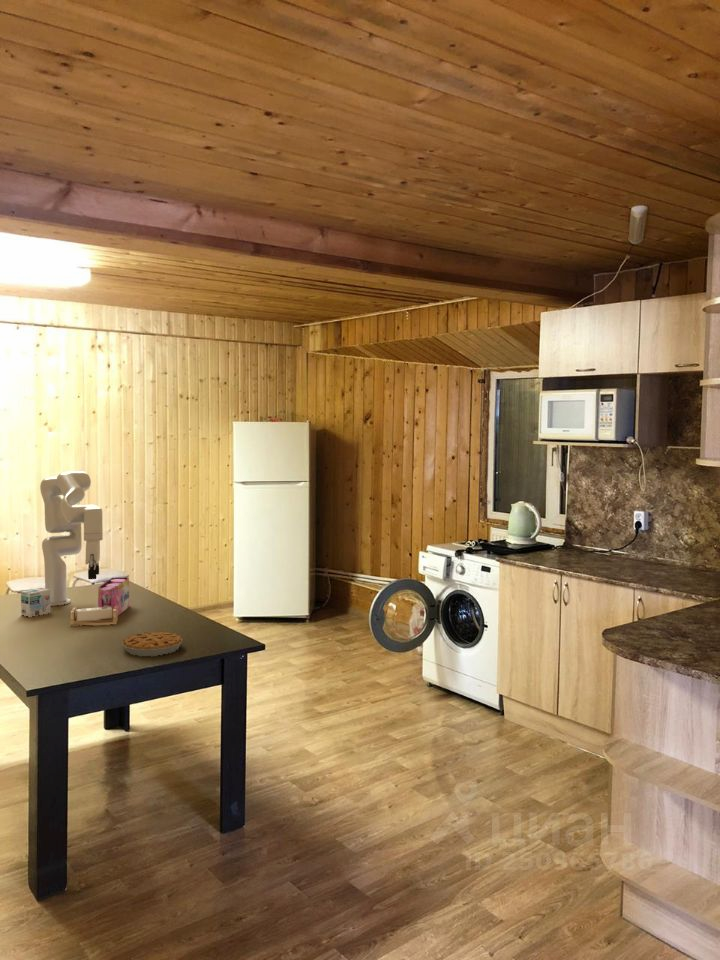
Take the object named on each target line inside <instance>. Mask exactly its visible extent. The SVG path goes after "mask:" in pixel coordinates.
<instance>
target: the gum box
mask: <svg viewBox="0 0 720 960" xmlns="http://www.w3.org/2000/svg"><path fill="white" fill-rule="evenodd" d="M97 589H98V590H97V591H98V596H97V608H98V607H110V606H111V608H112V615H113V609H114V607H115V606H118V616H120V614H122V613H123V612H124V611H126V610H128V608H129V607H130V578H129V577H111V578H110V579H108V580H106V582H104V583H102V584H101V585H99V586H98V588H97Z"/></svg>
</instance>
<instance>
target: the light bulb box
mask: <svg viewBox="0 0 720 960" xmlns="http://www.w3.org/2000/svg"><path fill="white" fill-rule="evenodd" d="M20 607H21V608H20V609H21V610H20V611H21V612H20V613H21V616H22V615H24V616H23V617H26V616H28V617H27V618H33V617H32V616H35V617H39V616H38V615H40V616H44V615H49V614H51V612H52V611H51V606H50V590H49V589H45V587H40V588H33V589H29V590H23V591H20ZM48 613H49V614H48ZM43 614H44V615H43Z"/></svg>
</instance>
